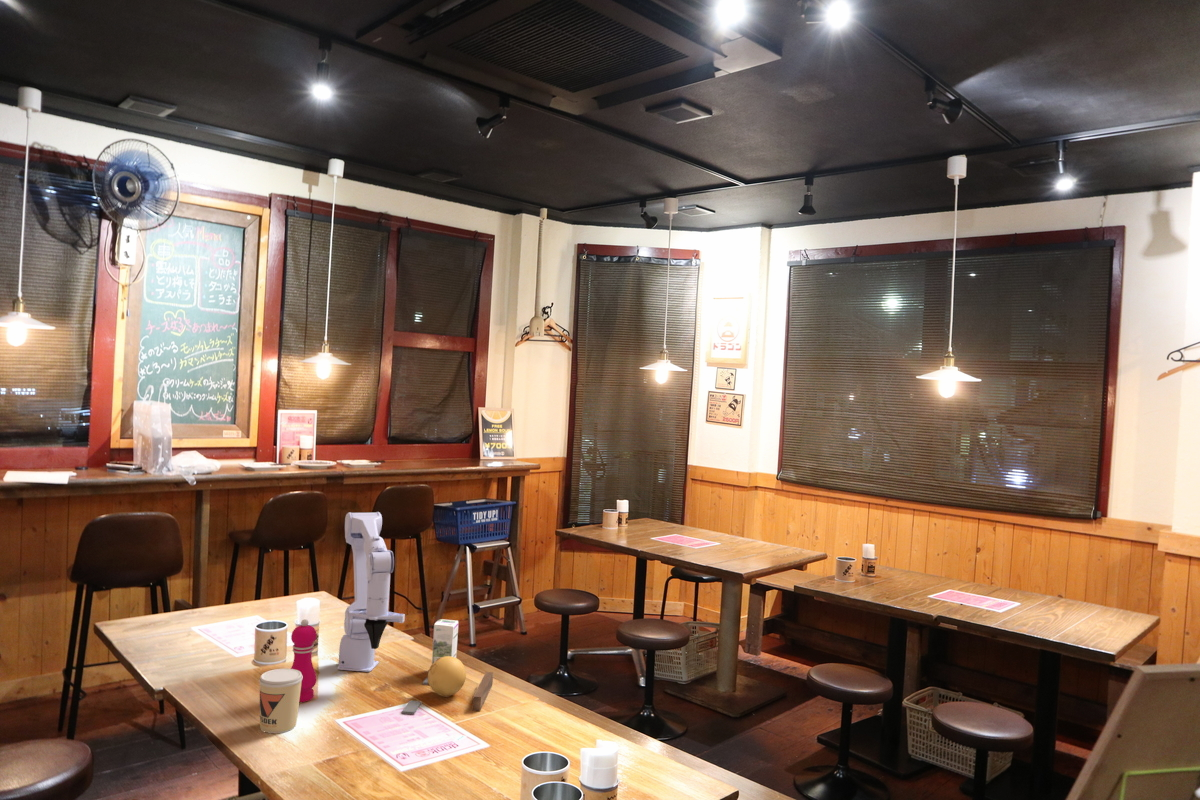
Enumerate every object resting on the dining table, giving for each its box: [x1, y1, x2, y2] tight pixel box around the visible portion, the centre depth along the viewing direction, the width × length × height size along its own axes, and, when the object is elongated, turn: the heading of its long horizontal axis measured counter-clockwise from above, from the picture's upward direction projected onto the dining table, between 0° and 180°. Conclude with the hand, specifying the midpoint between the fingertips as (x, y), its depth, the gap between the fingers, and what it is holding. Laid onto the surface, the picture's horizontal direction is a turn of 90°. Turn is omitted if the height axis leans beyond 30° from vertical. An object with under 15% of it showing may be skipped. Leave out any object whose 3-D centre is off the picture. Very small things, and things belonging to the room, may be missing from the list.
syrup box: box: [431, 618, 459, 665], centre depth 222 cm, size 6×6×14 cm
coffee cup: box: [258, 668, 303, 734], centre depth 181 cm, size 9×9×12 cm
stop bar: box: [471, 671, 494, 712], centre depth 205 cm, size 2×18×4 cm, turn 178°
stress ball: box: [427, 656, 467, 698], centre depth 205 cm, size 10×10×10 cm
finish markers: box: [401, 676, 430, 715], centre depth 204 cm, size 3×24×1 cm, turn 178°
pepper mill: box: [290, 619, 318, 703], centre depth 198 cm, size 7×7×20 cm
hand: (375, 647), depth 208 cm, fingers closed
